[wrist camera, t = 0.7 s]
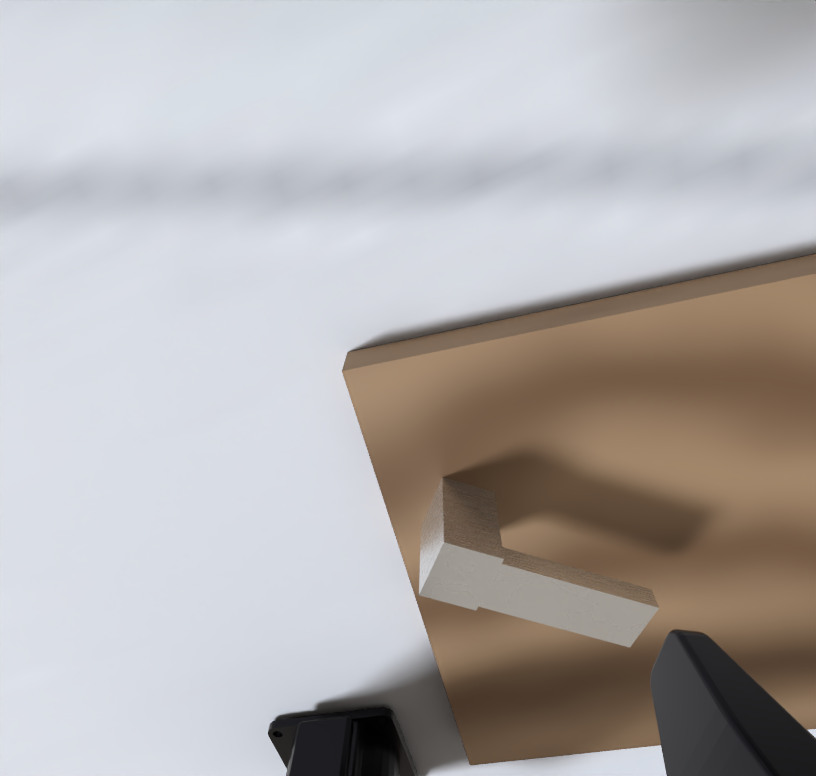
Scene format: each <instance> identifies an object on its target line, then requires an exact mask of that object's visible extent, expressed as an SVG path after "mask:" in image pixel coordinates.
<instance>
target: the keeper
mask: <svg viewBox="0 0 816 776" xmlns="http://www.w3.org/2000/svg"><path fill="white" fill-rule="evenodd" d="M419 595H420V596H424V597H428V598H431V599H435V600H439V601H442V602H446V603H450V604H453V605H457V606H461V607H465V608H468V609H472V610H477V608H478V607H482V608H486V609H489V610H493V611H497V612H500V613H504V614H508V615H511V616H515V617H519V618H522V619H526V620H530V621H534V622H537V623H541V624H545V625H548V626H552V627H556V628H559V629H563V630H567V631H570V632H574V633H578V634H582V635H585V636H589V637H593V638H596V639H600V640H604V641H607V642H611V643H615V644H618V645H622V646H626V647H631V645H632V644H633V643H634V641H635V640H636V639H637V637H638V636H639V635H640V633H641V632H642V631H643V629H644V628H645V627H646V625H647V624H648V623H649V621H650V620H651V619H652V617H653V616H654V615H655V613H656V612H657V611H658V609H659V606H658V604H657V601H656V599H655V596H654V594H653V592H652V589H648V588H645V587H641V586H638V585H634V584H631V583H627V582H624V581H620V580H617V579H613V578H610V577H606V576H603V575H599V574H596V573H592V572H589V571H585V570H582V569H578V568H575V567H571V566H568V565H564V564H560V563H557V562H553V561H550V560H546V559H543V558H539V557H536V556H532V555H529V554H525V553H522V552H518V551H515V550H511V549H508V548H504V547H502V541H501V534H500V527H499V520H498V513H497V506H496V499H495V492H492V491H488V490H485V489H482V488H478V487H475V486H471V485H468V484H465V483H461V482H458V481H454V480H451V479H448V478H444V477H442V479H441V482H440V484H439V486H438V488H437V491H436V493H435V495H434V497H433V500H432V502H431V504H430V506H429V509H428V511H427V513H426V516H425V518H424V520H423V522H422V525H421V540H420V575H419Z"/></svg>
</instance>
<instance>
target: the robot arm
mask: <svg viewBox="0 0 816 776" xmlns="http://www.w3.org/2000/svg"><path fill="white" fill-rule="evenodd" d="M650 686H651V693H652V698H653V704H654V709H655V715H656V720H657V725H658V731H659V736H660V742H661V747H662V752H663V758H664V763H665V769H666V774H667V776H816V738H815V737H814V736H813V735H812V734H811V733H810V732H809V731H808V730H807V729H805V728H804V727H803V726H802V725H801V724H800V723H799V722H798V721H797V720H796V719H795V718H794V717H793V716H792V715H791V714H790V713H789V712H788V711H787V710H786V709H785V708H784V707H782V706H781V705H780V704H779V703H778V702H777V701H776V700H775V699H774V698H773V697H772V696H771V695H770V694H769V693H768V692H767V691H766V690H765V689H764V688H763V687H762V686H761V685H759V684H758V683H757V682H756V681H755V680H754V679H753V678H752V677H751V676H750V675H749V674H748V673H747V672H746V671H745V670H744V669H743V668H742V667H741V666H740V665H739V664H738V663H736V662H735V661H734V660H733V659H732V658H731V657H730V656H729V655H728V654H727V653H726V652H725V651H724V650H723V649H722V648H721V647H720V646H719V645H718V644H717V643H716V642H715V641H713V640H712V639H711V638H710V637H709V636H708V635H706V634H705V633H702V632H698V631H689V630H680V629H674V630H672V631H671V632H669V633H668V635H667V637H666V639H665V641H664V643H663V645H662V648H661V650H660V652H659V654H658V657H657V659H656V661H655V663H654V666H653V668H652V671H651V677H650ZM268 735H269V737H270V739H271V741H272V743H273V744H274V746H275V748H276V750H277V752H278V754H279V755H280V757H281V759H282V761H283V763H284V764H285V766H286V768H287V773H286V776H418V774H417V772H416V769H415V766H414V764H413V761H412V759H411V756H410V754H409V751H408V749H407V746H406V744H405V741H404V739H403V736H402V733H401V731H400V728H399V726H398V723H397V721H396V718H395V716H394V713H393V712H392V710H390V709H388V708H375V709H367V710H358V711H350V712H342V713H334V714H326V715H317V716H309V717H301V718H293V719H285V720H277V721H273V722H272V723H271V724H270V726H269V730H268Z"/></svg>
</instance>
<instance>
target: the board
mask: <svg viewBox="0 0 816 776" xmlns="http://www.w3.org/2000/svg"><path fill="white" fill-rule="evenodd" d="M342 373H343V376H344V379H345V382H346V385H347V388H348V391H349V394H350V397H351V400H352V403H353V407H354V410H355V413H356V416H357V419H358V422H359V425H360V428H361V431H362V434H363V437H364V440H365V443H366V447H367V450H368V453H369V456H370V459H371V462H372V465H373V468H374V471H375V474H376V477H377V480H378V484H379V487H380V490H381V493H382V496H383V499H384V502H385V505H386V508H387V511H388V514H389V517H390V520H391V524H392V527H393V530H394V533H395V536H396V539H397V542H398V545H399V548H400V551H401V554H402V557H403V561H404V564H405V567H406V570H407V573H408V576H409V579H410V582H411V585H412V588H413V591H414V594H415V597H416V601H417V604H418V607H419V610H420V613H421V616H422V619H423V622H424V625H425V628H426V631H427V634H428V637H429V641H430V644H431V647H432V650H433V653H434V656H435V659H436V662H437V665H438V668H439V671H440V674H441V678H442V681H443V684H444V687H445V690H446V693H447V696H448V699H449V702H450V705H451V708H452V711H453V714H454V718H455V721H456V724H457V727H458V730H459V733H460V736H461V739H462V742H463V745H464V748H465V751H466V755H467V758H468V761H469V764H470V765H478V764H487V763H496V762H506V761H515V760H525V759H534V758H544V757H553V756H562V755H572V754H581V753H591V752H600V751H610V750H619V749H628V748H638V747H647V746H657V745H661V742H660V736H659V731H658V725H657V720H656V715H655V709H654V704H653V698H652V693H651V686H650V677H651V671H652V668H653V666H654V663H655V661H656V659H657V657H658V654H659V652H660V650H661V648H662V645H663V643H664V641H665V639H666V637H667V635H668V633H669V632H671V631H672V630H674V629H680V630H689V631H698V632H702V633H705V634H706V635H708V636H709V637H710V638H711V639H712V640H713V641H715V642H716V643H717V644H718V645H719V646H720V647H721V648H722V649H723V650H724V651H725V652H726V653H727V654H728V655H729V656H730V657H731V658H732V659H733V660H734V661H735V662H736V663H738V664H739V665H740V666H741V667H742V668H743V669H744V670H745V671H746V672H747V673H748V674H749V675H750V676H751V677H752V678H753V679H754V680H755V681H756V682H757V683H758V684H759V685H761V686H762V687H763V688H764V689H765V690H766V691H767V692H768V693H769V694H770V695H771V696H772V697H773V698H774V699H775V700H776V701H777V702H778V703H779V704H780V705H781V706H782V707H784V708H785V709H786V710H787V711H788V712H789V713H790V714H791V715H792V716H793V717H794V718H795V719H796V720H797V721H798V722H799V723H800V724H801V725H802V726H803V727H804V728H805V729H807V730H808V729H816V254H813V255H808V256H803V257H799V258H794V259H789V260H784V261H780V262H775V263H770V264H765V265H760V266H756V267H751V268H746V269H741V270H737V271H732V272H727V273H722V274H718V275H713V276H708V277H703V278H699V279H694V280H689V281H684V282H680V283H675V284H670V285H665V286H661V287H656V288H651V289H646V290H642V291H637V292H632V293H627V294H622V295H618V296H613V297H608V298H603V299H599V300H594V301H589V302H584V303H580V304H575V305H570V306H565V307H561V308H556V309H551V310H546V311H542V312H537V313H532V314H527V315H523V316H518V317H513V318H508V319H504V320H499V321H494V322H489V323H484V324H480V325H475V326H470V327H465V328H461V329H456V330H451V331H446V332H442V333H437V334H432V335H427V336H423V337H418V338H413V339H408V340H404V341H399V342H394V343H389V344H385V345H380V346H375V347H370V348H366V349H361V350H356V351H351V352H348V353H347V356H346V359H345V363H344V366H343V369H342ZM442 477H444V478H448V479H451V480H454V481H458V482H461V483H465V484H468V485H471V486H475V487H478V488H482V489H485V490H488V491H492V492H495V499H496V506H497V513H498V520H499V527H500V534H501V541H502V547H504V548H508V549H511V550H515V551H518V552H522V553H525V554H529V555H532V556H536V557H539V558H543V559H546V560H550V561H553V562H557V563H560V564H564V565H568V566H571V567H575V568H578V569H582V570H585V571H589V572H592V573H596V574H599V575H603V576H606V577H610V578H613V579H617V580H620V581H624V582H627V583H631V584H634V585H638V586H641V587H645V588H648V589H652V592H653V594H654V596H655V599H656V601H657V604H658V606H659V609H658V611H657V612H656V613H655V615H654V616H653V617H652V619H651V620H650V621H649V623H648V624H647V625H646V627H645V628H644V629H643V631H642V632H641V633H640V635H639V636H638V637H637V639H636V640H635V641H634V643H633V644H632V645H631V647H626V646H622V645H618V644H615V643H611V642H607V641H604V640H600V639H596V638H593V637H589V636H585V635H582V634H578V633H574V632H570V631H567V630H563V629H559V628H556V627H552V626H548V625H545V624H541V623H537V622H534V621H530V620H526V619H522V618H519V617H515V616H511V615H508V614H504V613H500V612H497V611H493V610H489V609H486V608H482V607H478V608H477V610H472V609H468V608H465V607H461V606H457V605H453V604H450V603H446V602H442V601H439V600H435V599H431V598H428V597H424V596H420V595H419V575H420V540H421V525H422V522H423V520H424V518H425V516H426V513H427V511H428V509H429V506H430V504H431V502H432V500H433V497H434V495H435V493H436V491H437V488H438V486H439V484H440V482H441V479H442Z"/></svg>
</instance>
